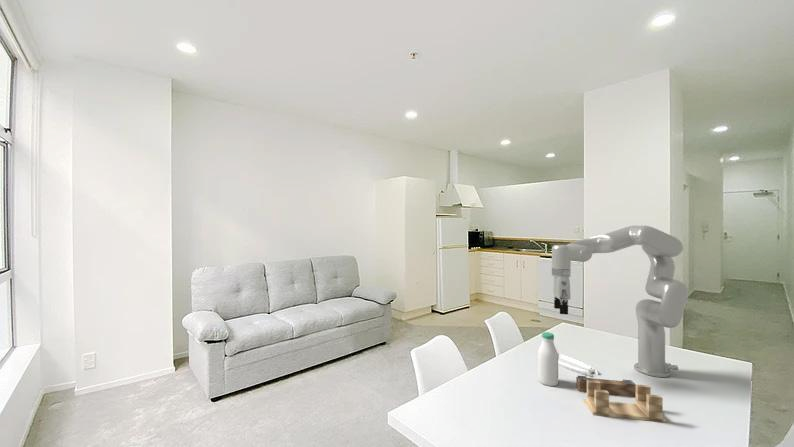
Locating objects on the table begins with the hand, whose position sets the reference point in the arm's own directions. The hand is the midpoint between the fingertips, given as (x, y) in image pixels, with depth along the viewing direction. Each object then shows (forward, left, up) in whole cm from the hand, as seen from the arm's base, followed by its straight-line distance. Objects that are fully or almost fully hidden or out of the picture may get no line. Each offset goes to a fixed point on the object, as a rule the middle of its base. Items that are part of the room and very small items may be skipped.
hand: (560, 311), depth 146 cm
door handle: (-6, -8, -27) cm, 29 cm away
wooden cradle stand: (-12, +30, -27) cm, 42 cm away
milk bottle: (+8, +12, -27) cm, 31 cm away
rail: (-12, +16, -27) cm, 34 cm away
